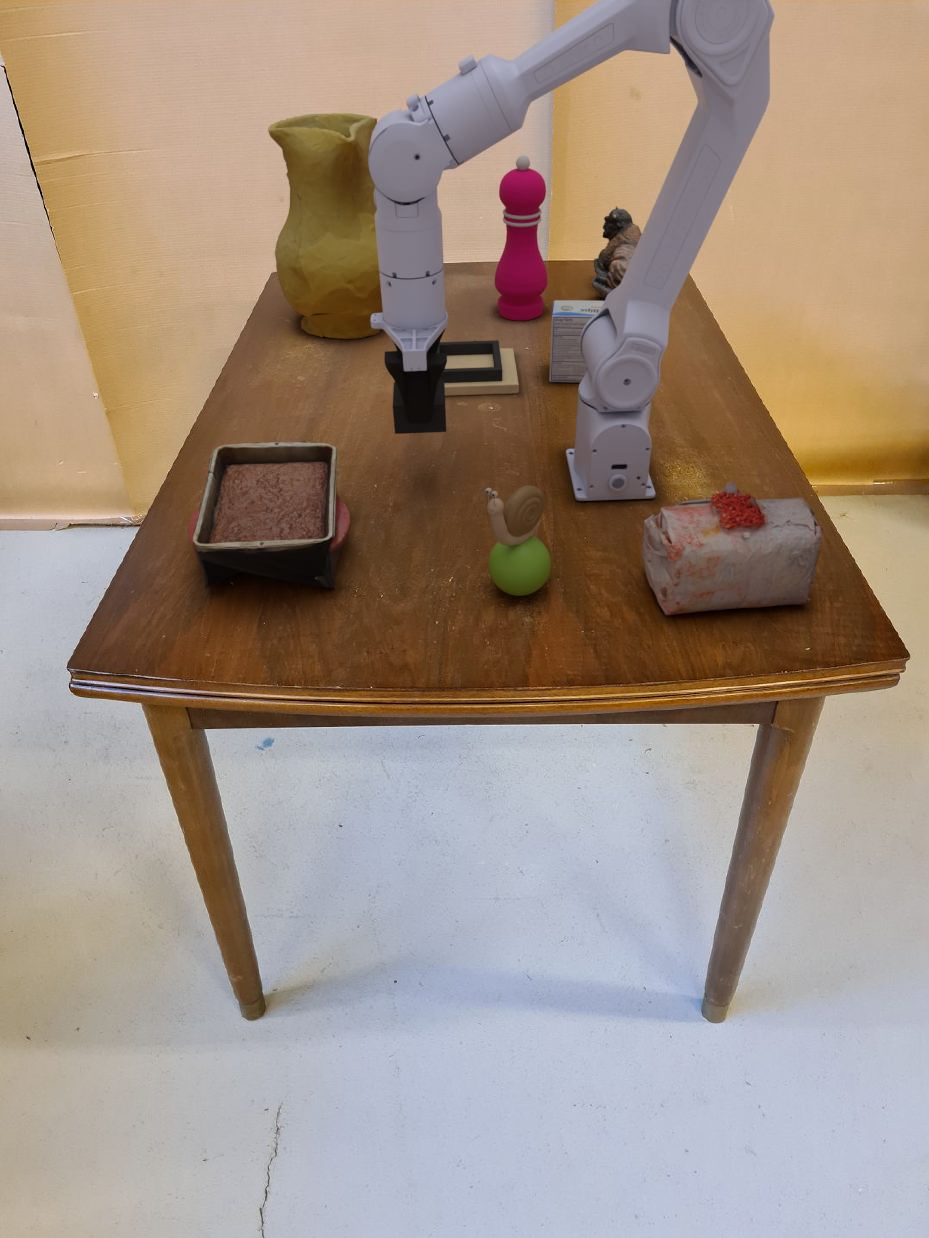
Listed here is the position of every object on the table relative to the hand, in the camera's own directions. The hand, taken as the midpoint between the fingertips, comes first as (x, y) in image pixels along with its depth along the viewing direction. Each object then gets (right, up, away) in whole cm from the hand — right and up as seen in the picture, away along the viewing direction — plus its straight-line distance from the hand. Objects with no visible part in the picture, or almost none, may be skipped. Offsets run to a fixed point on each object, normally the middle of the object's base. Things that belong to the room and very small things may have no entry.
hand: (420, 407), depth 89 cm
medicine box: (+19, +9, +23) cm, 31 cm away
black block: (0, -1, +1) cm, 1 cm away
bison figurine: (+26, +26, +42) cm, 56 cm away
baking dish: (-13, -15, -3) cm, 20 cm away
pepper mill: (+12, +22, +38) cm, 45 cm away
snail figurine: (+9, -18, -8) cm, 22 cm away
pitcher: (-12, +21, +37) cm, 45 cm away
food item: (+27, -18, -9) cm, 34 cm away
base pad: (+5, +9, +23) cm, 25 cm away
